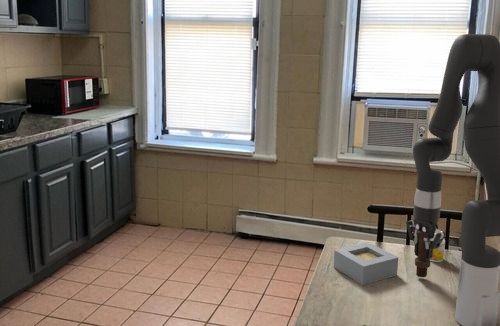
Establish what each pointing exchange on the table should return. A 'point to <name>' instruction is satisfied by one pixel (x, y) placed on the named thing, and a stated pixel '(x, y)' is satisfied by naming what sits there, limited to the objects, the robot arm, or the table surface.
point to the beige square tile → (365, 256)
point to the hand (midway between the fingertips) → (422, 257)
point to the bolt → (422, 255)
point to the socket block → (365, 263)
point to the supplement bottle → (438, 253)
